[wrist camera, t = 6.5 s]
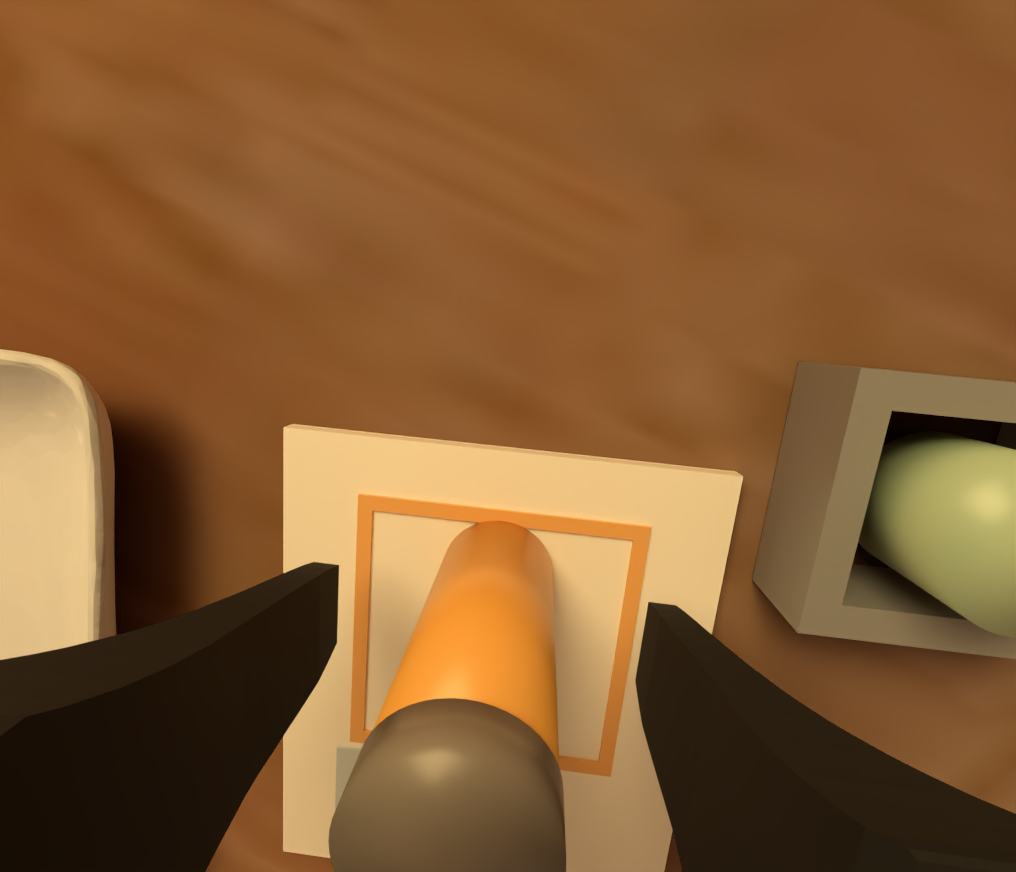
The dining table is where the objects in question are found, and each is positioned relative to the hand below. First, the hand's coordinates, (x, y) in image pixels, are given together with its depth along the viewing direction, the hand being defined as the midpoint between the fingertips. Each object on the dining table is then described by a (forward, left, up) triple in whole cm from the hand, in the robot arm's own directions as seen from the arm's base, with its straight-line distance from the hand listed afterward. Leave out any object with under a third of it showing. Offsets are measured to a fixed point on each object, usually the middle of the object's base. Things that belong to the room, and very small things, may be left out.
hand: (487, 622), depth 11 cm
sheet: (-4, 0, -3) cm, 4 cm away
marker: (0, 0, -2) cm, 2 cm away
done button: (+4, -10, -3) cm, 11 cm away
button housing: (+4, -10, -3) cm, 11 cm away
